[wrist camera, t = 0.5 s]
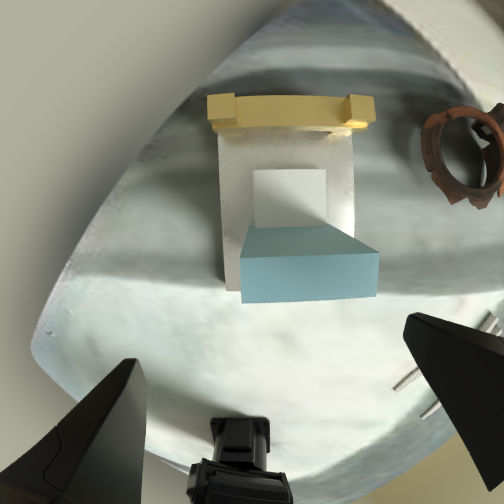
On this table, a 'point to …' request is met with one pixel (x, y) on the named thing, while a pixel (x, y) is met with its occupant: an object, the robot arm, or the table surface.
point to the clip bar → (301, 245)
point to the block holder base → (283, 155)
